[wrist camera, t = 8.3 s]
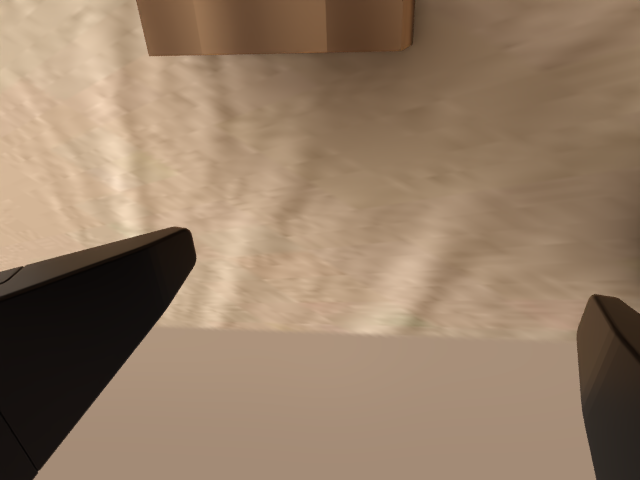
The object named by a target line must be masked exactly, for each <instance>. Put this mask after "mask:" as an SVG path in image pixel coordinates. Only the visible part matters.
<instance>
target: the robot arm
mask: <svg viewBox="0 0 640 480" xmlns="http://www.w3.org/2000/svg"><path fill="white" fill-rule="evenodd" d="M195 263H196V252H195V247H194V243H193V238H192V234H191V232H190V230H188V229H187V228H181V227H170V228H166V229H162V230H158V231H155V232H151V233H147V234H143V235H139V236H136V237H132V238H128V239H124V240H120V241H116V242H113V243H109V244H105V245H101V246H97V247H94V248H90V249H86V250H82V251H78V252H74V253H71V254H67V255H63V256H59V257H55V258H52V259H48V260H44V261H40V262H36V263H33V264H29V265H26V266H25V267H23V266H21V267H17V268H13V269H9V270H6V271H2V272H0V480H33V479H34V478H35V476H36V475H37V474H38V471H39V470H40V469H41V468H42V467H43V466H44V464H45V463H46V462H47V461H48V459H49V458H50V457H51V455H52V454H53V453H54V452H55V450H56V449H57V448H58V446H59V445H60V444H61V443H62V442H63V440H64V439H65V438H66V436H67V435H68V434H69V433H70V431H71V430H72V429H73V428H74V426H75V425H76V424H77V423H78V421H79V420H80V419H81V417H82V416H83V415H84V414H85V412H86V411H87V410H88V408H89V407H90V406H91V405H92V403H93V402H94V401H95V400H96V398H97V397H98V396H99V395H100V393H101V392H102V391H103V389H104V388H105V387H106V386H107V384H108V383H109V382H110V381H111V379H112V378H113V377H114V376H115V374H116V373H117V371H118V370H119V369H120V368H121V367H122V365H123V364H124V363H125V362H126V360H127V359H128V358H129V357H130V355H131V354H132V353H133V351H134V350H135V349H136V348H137V346H138V345H139V344H140V343H141V341H142V340H143V339H144V338H145V336H146V335H147V334H148V332H149V331H150V330H151V329H152V327H153V326H154V325H155V324H156V322H157V321H158V320H159V318H160V317H161V316H162V315H163V313H164V312H165V311H166V309H167V308H168V306H169V305H170V303H171V302H172V300H173V298H174V297H175V295H176V294H177V292H178V291H179V289H180V288H181V286H182V284H183V283H184V281H185V280H186V278H187V277H188V275H189V273H190V272H191V270H192V269H193V267H194V265H195ZM577 351H578V363H579V364H578V365H579V377H580V391H581V404H582V412H583V418H584V423H585V428H586V433H587V438H588V442H589V446H590V451H591V456H592V461H593V466H594V471H595V475H596V480H640V314H639V313H638V312H636V311H635V310H634V309H632V308H631V307H630V306H628V305H627V304H626V303H624V302H623V301H622V300H620V299H619V298H616V297H610V296H604V295H598V294H594V295H592V296H591V297H590V298H589V300H588V302H587V305H586V307H585V310H584V313H583V316H582V318H581V321H580V324H579V327H578V330H577Z"/></svg>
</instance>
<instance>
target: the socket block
mask: <svg viewBox="0 0 640 480" xmlns="http://www.w3.org/2000/svg"><path fill="white" fill-rule="evenodd" d="M136 2H137V6H138V10H139V15H140V19H141V23H142V27H143V32H144V36H145V40H146V45H147V49H148V53H149V56H180V55H228V54H276V53H324V52H371V51H402V50H403V49H405V48H407V47H409V46H410V45H412V43H413V26H414V9H415V0H136Z"/></svg>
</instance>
